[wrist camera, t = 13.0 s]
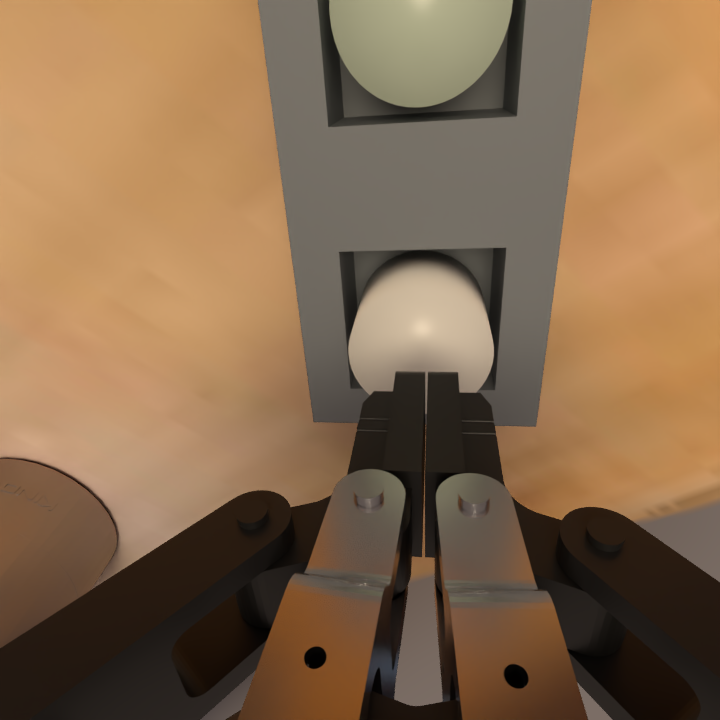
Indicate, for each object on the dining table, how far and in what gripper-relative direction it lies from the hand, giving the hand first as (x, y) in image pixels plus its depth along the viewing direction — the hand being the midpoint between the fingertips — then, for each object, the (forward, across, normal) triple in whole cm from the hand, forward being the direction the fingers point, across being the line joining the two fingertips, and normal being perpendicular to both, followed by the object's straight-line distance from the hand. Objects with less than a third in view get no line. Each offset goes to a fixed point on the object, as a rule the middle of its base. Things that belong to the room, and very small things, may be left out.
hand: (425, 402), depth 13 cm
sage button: (+7, 0, -8) cm, 11 cm away
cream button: (+6, 0, 0) cm, 6 cm away
